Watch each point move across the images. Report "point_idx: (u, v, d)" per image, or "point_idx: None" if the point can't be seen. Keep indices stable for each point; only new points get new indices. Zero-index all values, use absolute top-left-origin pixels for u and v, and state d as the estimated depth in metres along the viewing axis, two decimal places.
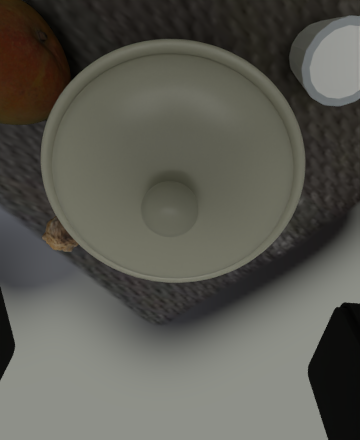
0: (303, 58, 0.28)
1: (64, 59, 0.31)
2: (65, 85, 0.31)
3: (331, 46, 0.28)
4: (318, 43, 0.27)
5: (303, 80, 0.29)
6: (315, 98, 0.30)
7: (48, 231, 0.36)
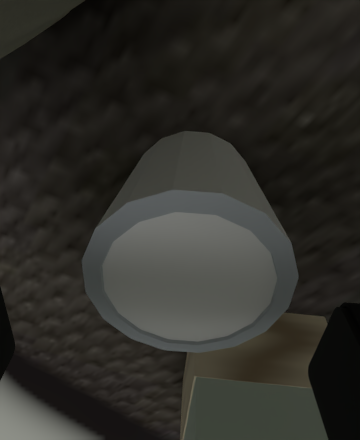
0: (200, 188, 0.09)
1: None
2: None
3: (230, 252, 0.10)
4: (241, 222, 0.10)
5: (139, 200, 0.09)
6: (94, 239, 0.10)
7: None
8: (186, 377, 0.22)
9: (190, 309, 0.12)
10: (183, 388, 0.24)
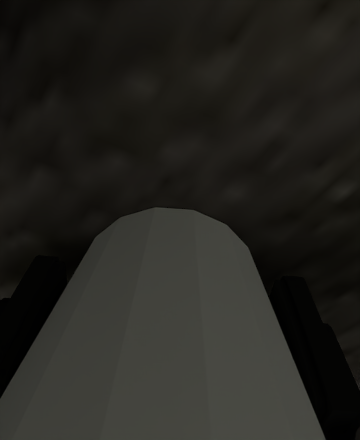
0: None
1: None
2: None
3: None
4: None
5: None
6: None
7: None
8: None
9: None
10: None
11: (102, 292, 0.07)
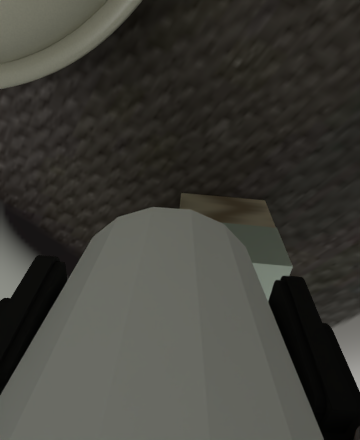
0: None
1: None
2: None
3: None
4: None
5: None
6: None
7: None
8: None
9: None
10: None
11: (100, 292, 0.07)
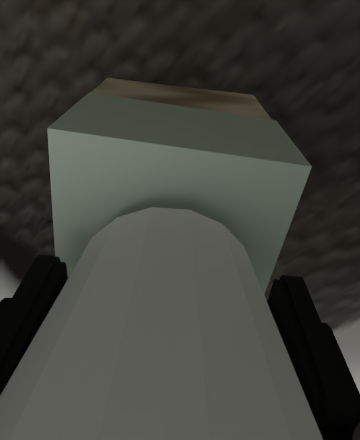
0: None
1: None
2: None
3: None
4: None
5: None
6: None
7: None
8: None
9: None
10: None
11: (99, 292, 0.07)
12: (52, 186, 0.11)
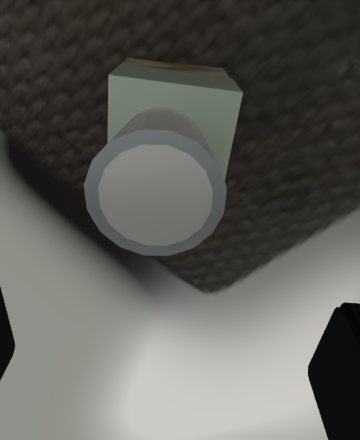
0: (157, 129, 0.15)
1: None
2: None
3: (180, 172, 0.16)
4: (183, 149, 0.15)
5: (119, 138, 0.15)
6: (91, 168, 0.16)
7: None
8: None
9: (158, 219, 0.17)
10: None
11: (134, 121, 0.18)
12: (109, 107, 0.21)
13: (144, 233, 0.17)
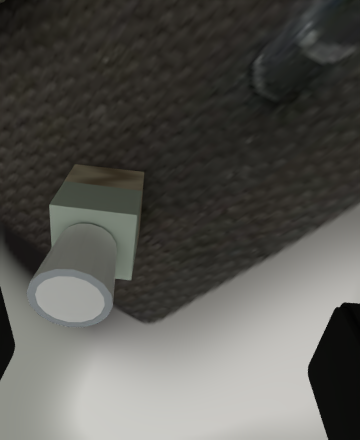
0: (66, 267, 0.26)
1: None
2: None
3: (82, 287, 0.27)
4: (82, 278, 0.26)
5: (44, 272, 0.26)
6: (30, 286, 0.27)
7: None
8: None
9: (74, 309, 0.28)
10: None
11: (60, 247, 0.29)
12: (50, 222, 0.32)
13: (66, 316, 0.29)
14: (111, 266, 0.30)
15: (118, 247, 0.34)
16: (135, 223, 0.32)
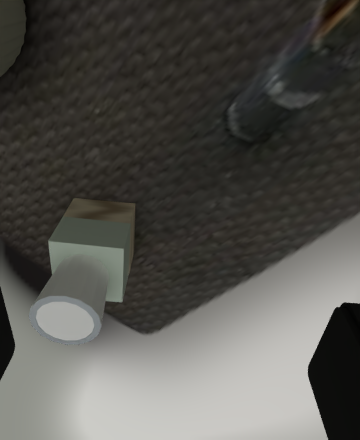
0: (59, 294, 0.31)
1: None
2: None
3: (74, 310, 0.32)
4: (73, 302, 0.31)
5: (41, 299, 0.31)
6: (31, 310, 0.32)
7: None
8: None
9: (69, 329, 0.33)
10: None
11: (56, 276, 0.34)
12: (50, 255, 0.37)
13: (63, 335, 0.34)
14: (100, 291, 0.35)
15: (109, 275, 0.39)
16: (122, 255, 0.37)
